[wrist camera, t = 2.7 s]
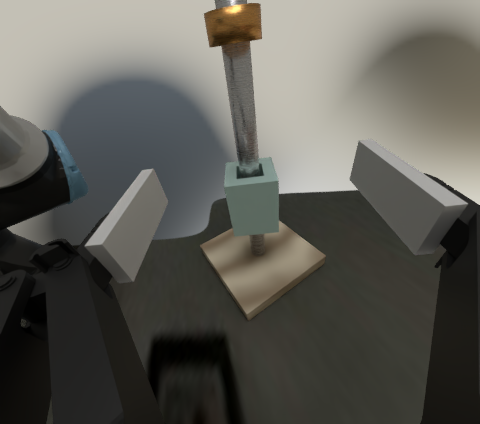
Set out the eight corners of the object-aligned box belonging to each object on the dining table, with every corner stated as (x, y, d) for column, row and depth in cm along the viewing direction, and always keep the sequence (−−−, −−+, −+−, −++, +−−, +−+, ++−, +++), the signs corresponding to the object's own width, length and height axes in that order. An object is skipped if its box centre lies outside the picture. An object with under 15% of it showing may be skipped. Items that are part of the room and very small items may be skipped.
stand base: (202, 252, 38) (200, 245, 37) (265, 217, 43) (265, 210, 42) (248, 321, 28) (246, 314, 26) (324, 263, 33) (325, 256, 32)
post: (237, 248, 35) (125, -298, 10) (261, 235, 37) (216, -258, 11) (255, 268, 32) (149, -503, 6) (279, 252, 33) (275, -400, 8)
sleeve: (234, 236, 28) (224, 187, 23) (234, 209, 32) (226, 162, 27) (278, 232, 27) (278, 180, 22) (272, 204, 32) (270, 157, 27)
